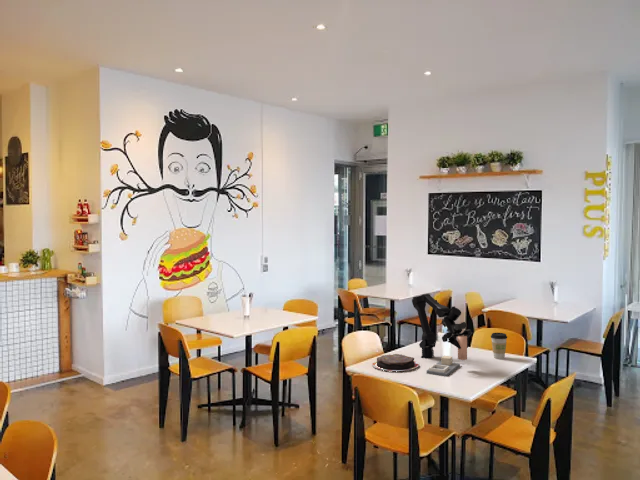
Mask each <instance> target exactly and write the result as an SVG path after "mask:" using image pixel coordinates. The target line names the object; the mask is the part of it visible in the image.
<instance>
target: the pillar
mask: <svg viewBox="0 0 640 480" xmlns="http://www.w3.org/2000/svg"><path fill="white" fill-rule="evenodd" d="M457 341H458V343H459V345H460V347H461V349H459V348H457V359H458V360H460V361H461V360H462V361H466V360H468V348H467V341H468V338H467V336H463V335H461V336H458V337H457Z"/></svg>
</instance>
